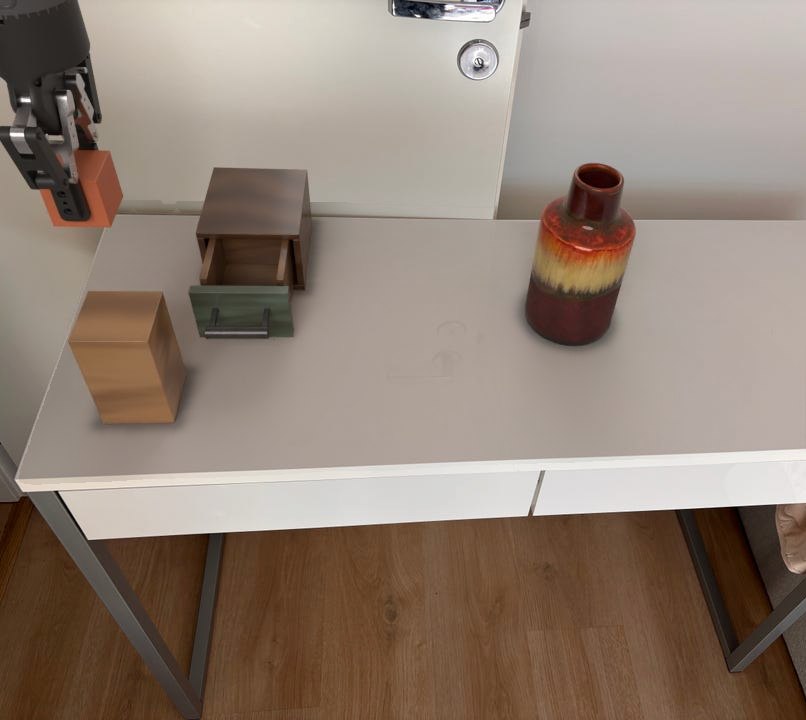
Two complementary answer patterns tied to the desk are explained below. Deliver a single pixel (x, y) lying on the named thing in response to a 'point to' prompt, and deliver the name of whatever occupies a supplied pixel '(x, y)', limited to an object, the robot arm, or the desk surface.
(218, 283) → the drawer
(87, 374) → the stand
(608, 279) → the vase
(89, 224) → the block
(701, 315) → the desk surface
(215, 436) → the desk surface
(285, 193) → the cabinet
